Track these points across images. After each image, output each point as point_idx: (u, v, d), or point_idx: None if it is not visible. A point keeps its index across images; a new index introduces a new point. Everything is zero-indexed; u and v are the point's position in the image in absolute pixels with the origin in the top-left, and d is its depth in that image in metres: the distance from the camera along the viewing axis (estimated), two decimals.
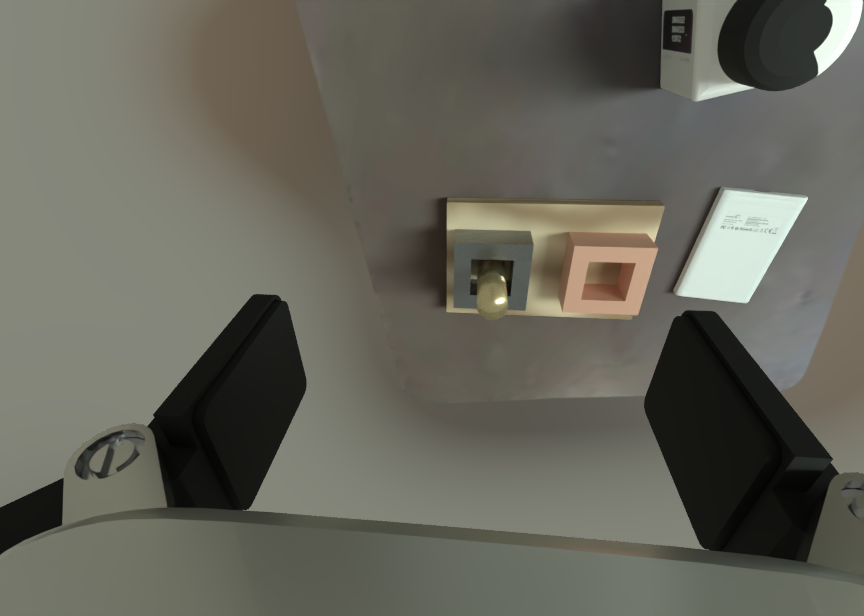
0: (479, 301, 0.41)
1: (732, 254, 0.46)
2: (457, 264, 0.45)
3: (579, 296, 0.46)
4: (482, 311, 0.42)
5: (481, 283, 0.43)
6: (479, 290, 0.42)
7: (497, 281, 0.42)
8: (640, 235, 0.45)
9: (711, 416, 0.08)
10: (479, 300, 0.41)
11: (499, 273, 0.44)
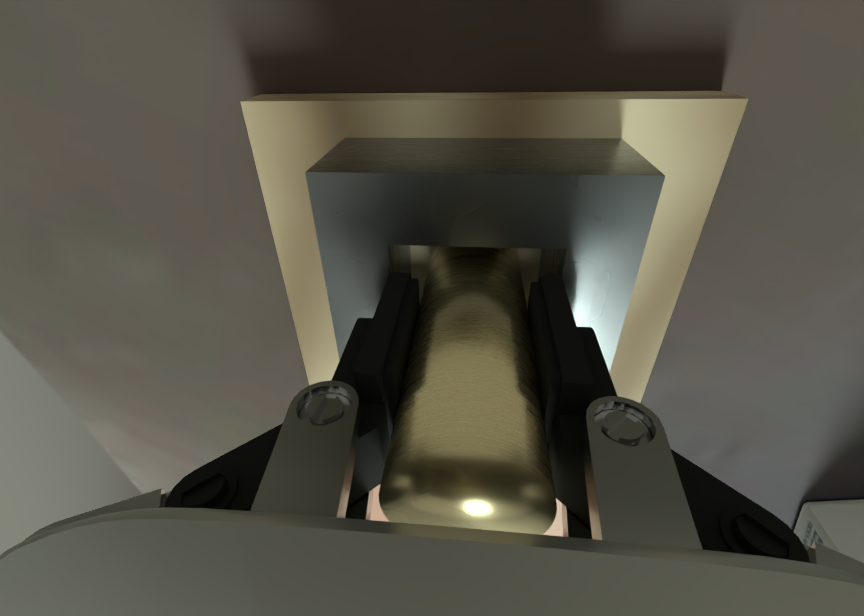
0: (504, 463, 0.07)
1: None
2: (548, 190, 0.10)
3: None
4: (432, 473, 0.07)
5: (521, 361, 0.09)
6: (513, 386, 0.08)
7: None
8: None
9: (537, 362, 0.09)
10: (510, 462, 0.07)
11: None
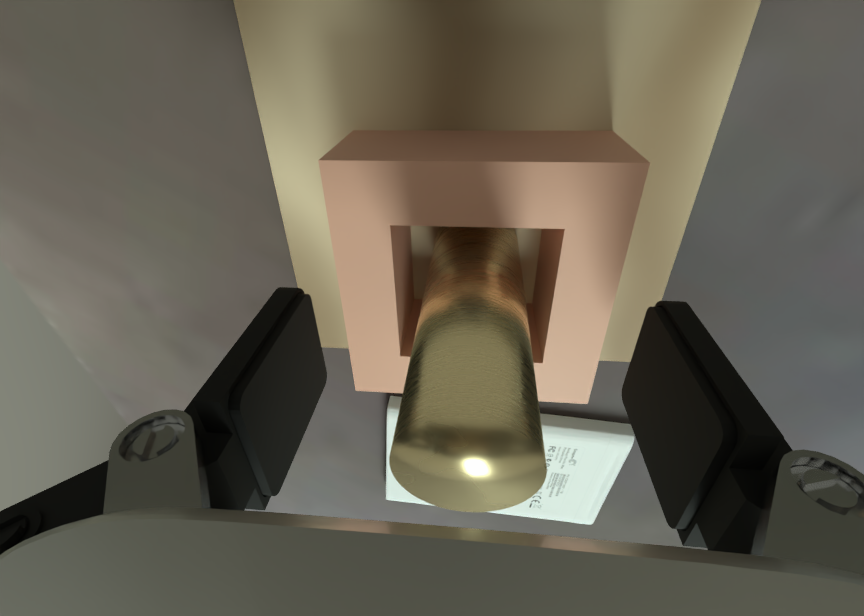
0: (500, 429, 0.07)
1: None
2: None
3: (406, 218, 0.11)
4: (436, 438, 0.08)
5: (518, 341, 0.10)
6: (509, 364, 0.09)
7: None
8: None
9: (677, 400, 0.08)
10: (506, 428, 0.07)
11: None
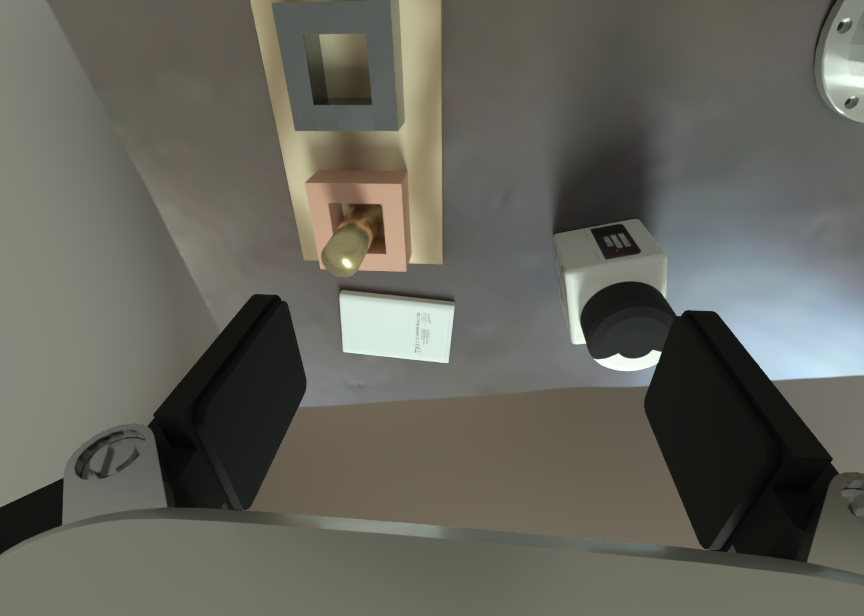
0: (345, 245, 0.32)
1: (391, 328, 0.48)
2: (354, 7, 0.28)
3: (332, 200, 0.36)
4: (331, 249, 0.32)
5: (360, 232, 0.34)
6: (354, 235, 0.33)
7: (366, 251, 0.34)
8: (410, 249, 0.41)
9: (711, 416, 0.08)
10: (346, 245, 0.32)
11: None
